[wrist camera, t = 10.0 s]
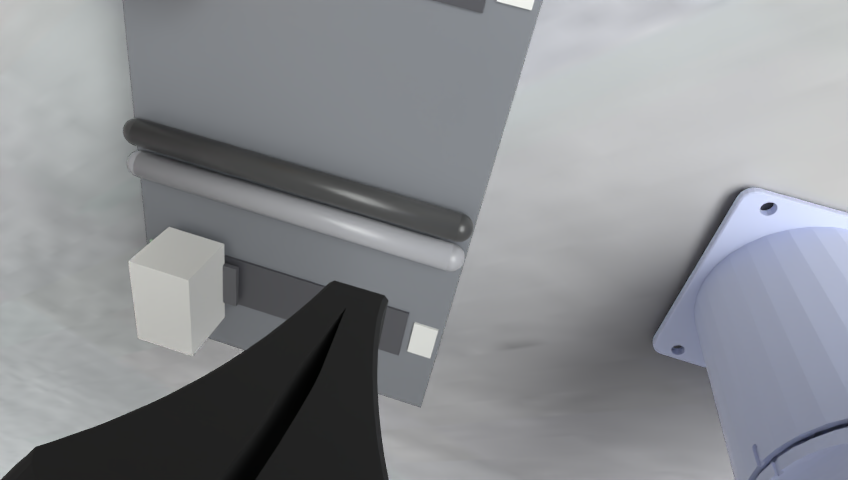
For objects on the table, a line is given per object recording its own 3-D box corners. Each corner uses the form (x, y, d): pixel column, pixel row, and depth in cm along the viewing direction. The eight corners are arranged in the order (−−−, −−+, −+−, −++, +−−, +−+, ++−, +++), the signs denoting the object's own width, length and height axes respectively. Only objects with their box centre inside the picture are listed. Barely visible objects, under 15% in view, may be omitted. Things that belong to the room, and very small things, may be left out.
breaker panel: (628, -288, 14) (643, -339, 11) (434, 360, 28) (415, 425, 25) (158, -389, 15) (44, -462, 12) (191, 283, 29) (141, 334, 26)
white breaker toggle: (239, 247, 23) (203, 284, 20) (238, 320, 25) (206, 361, 23) (156, 221, 23) (112, 256, 21) (162, 296, 25) (124, 334, 23)
